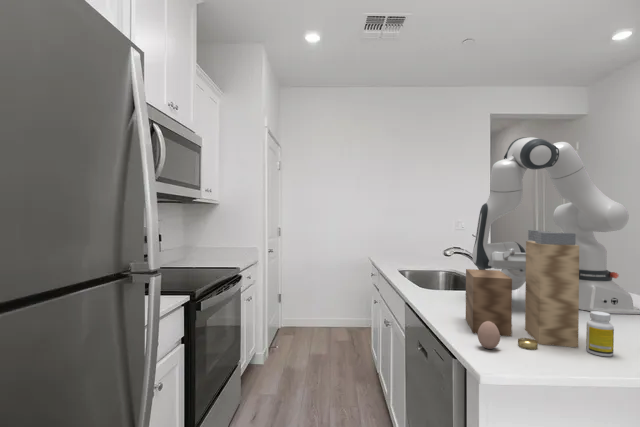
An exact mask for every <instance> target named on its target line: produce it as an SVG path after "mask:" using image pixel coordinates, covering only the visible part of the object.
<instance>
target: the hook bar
mask: <svg viewBox="0 0 640 427" xmlns="http://www.w3.org/2000/svg"><path fill="white" fill-rule="evenodd" d="M527 233H528V234H527V235H528V236H527V237H528V240H527V241H535V243H537V244H547V245H575V244H576V234H574V233H564V232H556V231H547V230H541V229H540V230H538V229H535V230H533V229H529V230H528V232H527Z"/></svg>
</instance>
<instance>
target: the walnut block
mask: <svg viewBox="0 0 640 427" xmlns="http://www.w3.org/2000/svg"><path fill="white" fill-rule="evenodd" d="M512 303H513V290H512V278H510V277H509V276H507V275H506V274H504V273H502V272H501V270H499V269H484V270H483V269H471V268H465V320H466V322H467V325H468V326H469V328H470V330H471V332H472V334H477V335H478V330H479V328H480V326H481V325H482V323H484V322H486V321H490V322H492V323H494V324H495V325H496V327H497V328H498V330H499V333H500V337H501V336H502V337H503V336H504V337H512V326H513V325H512V323H513V321H512V319H513V317H512V316H513V314H512V313H513V309H512V308H513V306H512V305H513V304H512Z"/></svg>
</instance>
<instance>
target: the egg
mask: <svg viewBox="0 0 640 427" xmlns="http://www.w3.org/2000/svg"><path fill="white" fill-rule="evenodd" d="M477 340H478V342H479V343H480V345H481V346H482V347H483V348H485V349H487V350H493V349H495V348H496V347H497V346H498V345H499V343H500V341H501V336H500V333H499V330H498V328H497V327H496V325H495V324H494V323H492V322H490V321H486V322H484V323H482V325H481V326H480V328H479V330H478V334H477Z"/></svg>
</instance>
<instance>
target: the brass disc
mask: <svg viewBox="0 0 640 427" xmlns="http://www.w3.org/2000/svg"><path fill="white" fill-rule="evenodd" d="M538 344H539V343H538V342H537V341H536V340H535V339H534V338H527V337H520V338H518V339H517V346H518V347H519V349H520V348H521V349H524V350H529V351H536V350H538V349H539V345H538Z"/></svg>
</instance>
